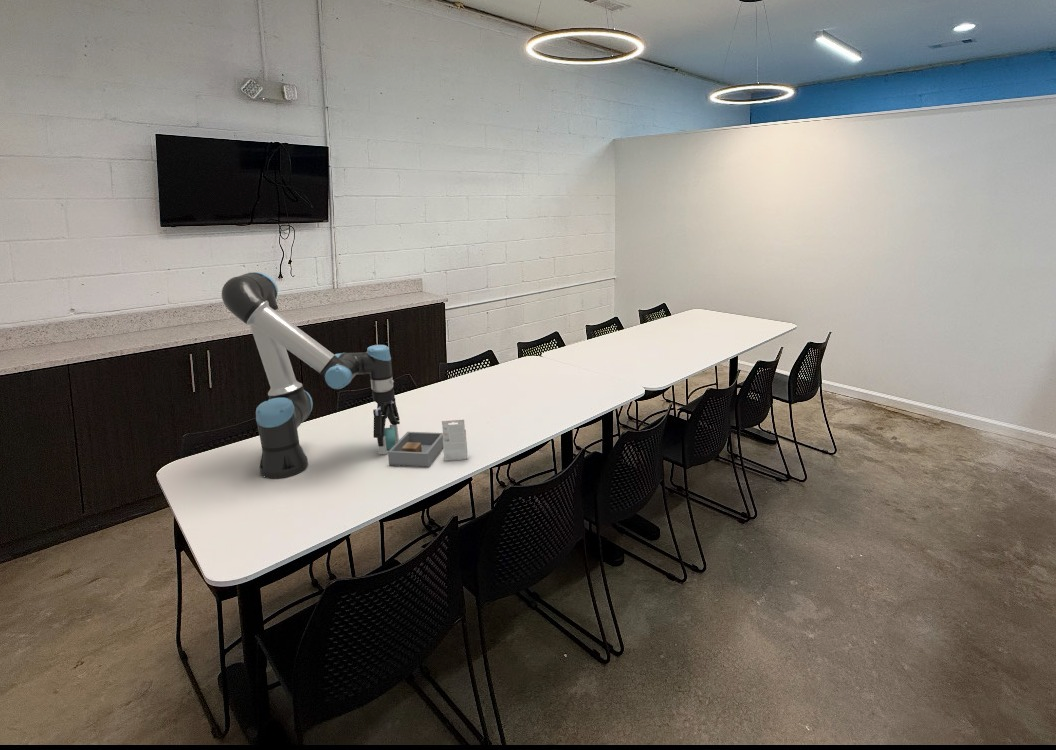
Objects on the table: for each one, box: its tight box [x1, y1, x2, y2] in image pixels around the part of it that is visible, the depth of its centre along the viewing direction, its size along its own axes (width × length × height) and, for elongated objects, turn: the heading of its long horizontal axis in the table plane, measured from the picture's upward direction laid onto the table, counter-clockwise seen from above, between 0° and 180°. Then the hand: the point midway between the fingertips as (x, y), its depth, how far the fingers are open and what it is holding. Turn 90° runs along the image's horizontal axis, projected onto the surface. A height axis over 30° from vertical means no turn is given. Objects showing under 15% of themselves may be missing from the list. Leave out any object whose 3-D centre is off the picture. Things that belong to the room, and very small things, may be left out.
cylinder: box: [384, 427, 397, 452], centre depth 211 cm, size 5×5×7 cm
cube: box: [402, 442, 422, 452], centre depth 200 cm, size 5×5×5 cm
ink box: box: [441, 419, 469, 462], centre depth 199 cm, size 4×8×15 cm, turn 96°
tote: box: [387, 431, 444, 468], centre depth 204 cm, size 14×18×5 cm
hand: (389, 447), depth 212 cm, fingers open, 10 cm apart
